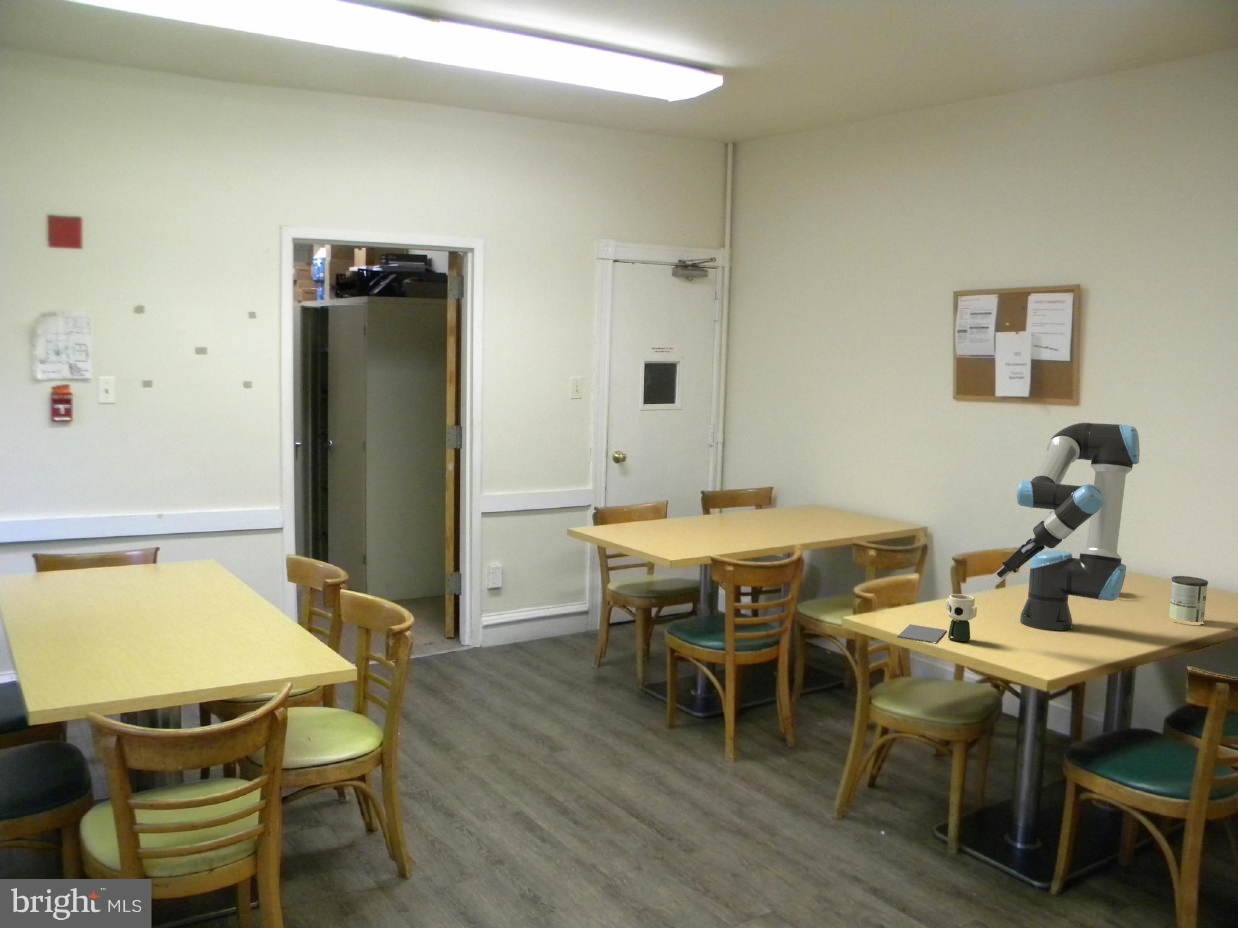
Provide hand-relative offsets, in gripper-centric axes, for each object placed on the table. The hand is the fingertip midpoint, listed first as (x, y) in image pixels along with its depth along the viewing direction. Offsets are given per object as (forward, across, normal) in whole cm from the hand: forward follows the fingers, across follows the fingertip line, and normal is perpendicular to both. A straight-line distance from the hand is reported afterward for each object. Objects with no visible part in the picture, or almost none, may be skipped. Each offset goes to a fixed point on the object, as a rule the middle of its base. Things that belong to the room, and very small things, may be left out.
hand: (992, 582), depth 292 cm
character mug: (+19, +3, +7) cm, 20 cm away
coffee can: (-10, -78, +36) cm, 87 cm away
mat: (+25, +5, -1) cm, 26 cm away
